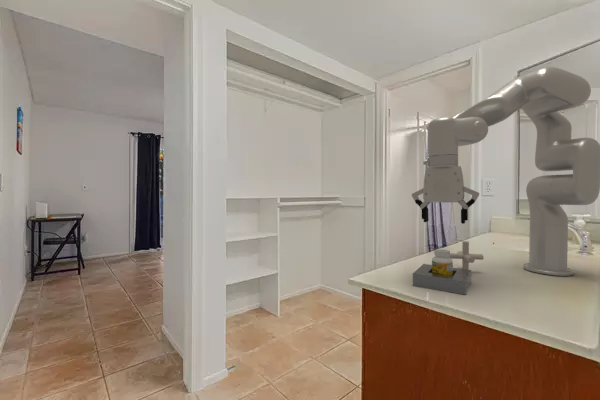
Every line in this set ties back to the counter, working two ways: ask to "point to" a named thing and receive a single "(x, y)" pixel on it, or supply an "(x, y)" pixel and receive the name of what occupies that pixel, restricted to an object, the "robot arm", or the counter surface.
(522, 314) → the counter surface
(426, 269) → the socket block
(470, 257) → the pipe connector
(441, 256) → the supplement bottle
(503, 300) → the counter surface
